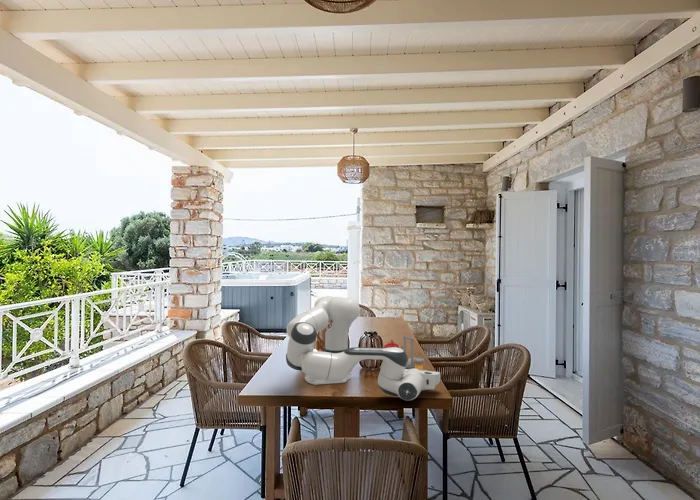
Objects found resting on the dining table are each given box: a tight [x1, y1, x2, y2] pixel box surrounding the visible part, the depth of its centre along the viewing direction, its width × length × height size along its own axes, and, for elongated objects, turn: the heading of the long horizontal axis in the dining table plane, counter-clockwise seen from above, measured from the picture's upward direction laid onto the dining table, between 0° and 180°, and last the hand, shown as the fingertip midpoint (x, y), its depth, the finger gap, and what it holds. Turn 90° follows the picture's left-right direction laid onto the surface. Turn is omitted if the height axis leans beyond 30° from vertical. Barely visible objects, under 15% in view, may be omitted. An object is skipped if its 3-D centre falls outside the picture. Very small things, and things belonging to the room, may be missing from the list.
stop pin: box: [413, 357, 425, 371], centre depth 181 cm, size 5×5×12 cm
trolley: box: [403, 335, 414, 369], centre depth 193 cm, size 13×9×19 cm
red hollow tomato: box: [383, 339, 400, 348], centre depth 236 cm, size 10×10×9 cm
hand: (419, 370), depth 181 cm, fingers closed on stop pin, 4 cm apart
